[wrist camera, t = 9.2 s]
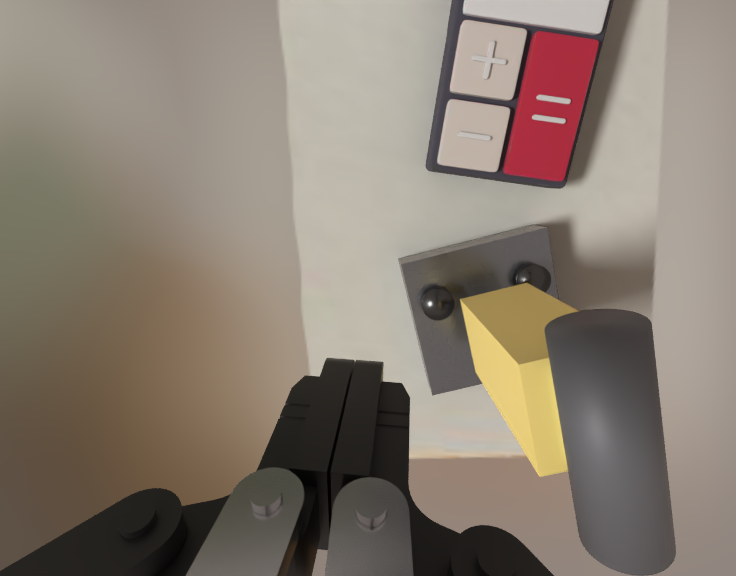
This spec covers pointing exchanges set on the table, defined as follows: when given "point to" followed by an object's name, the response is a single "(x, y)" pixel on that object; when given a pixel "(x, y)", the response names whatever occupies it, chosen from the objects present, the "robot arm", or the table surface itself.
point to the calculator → (515, 88)
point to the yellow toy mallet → (583, 414)
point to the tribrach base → (468, 294)
